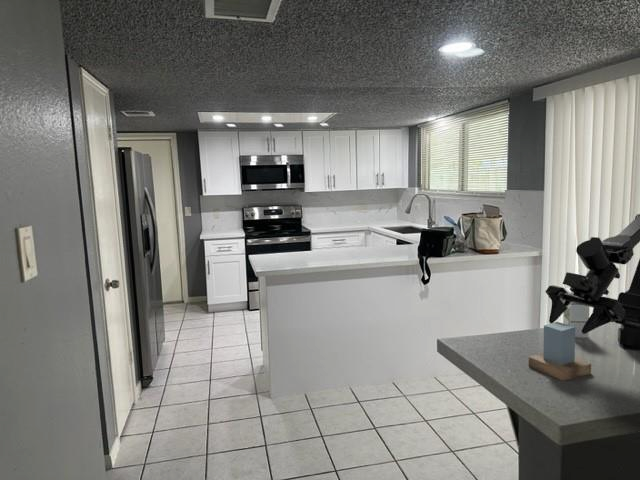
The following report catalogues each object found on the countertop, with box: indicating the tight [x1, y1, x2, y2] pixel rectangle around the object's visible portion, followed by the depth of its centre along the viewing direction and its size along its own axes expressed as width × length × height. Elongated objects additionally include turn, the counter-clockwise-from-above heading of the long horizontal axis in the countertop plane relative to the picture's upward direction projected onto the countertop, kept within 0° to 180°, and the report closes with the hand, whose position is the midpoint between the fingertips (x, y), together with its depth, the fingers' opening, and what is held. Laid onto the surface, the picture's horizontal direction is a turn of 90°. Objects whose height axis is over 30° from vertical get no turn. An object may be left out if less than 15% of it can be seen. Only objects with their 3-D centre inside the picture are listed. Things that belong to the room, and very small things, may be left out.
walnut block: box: [528, 353, 592, 381], centre depth 112 cm, size 10×10×3 cm
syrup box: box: [562, 287, 590, 339], centre depth 137 cm, size 6×6×14 cm
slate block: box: [543, 321, 576, 366], centre depth 111 cm, size 5×5×9 cm
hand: (565, 327), depth 112 cm, fingers open, 9 cm apart
